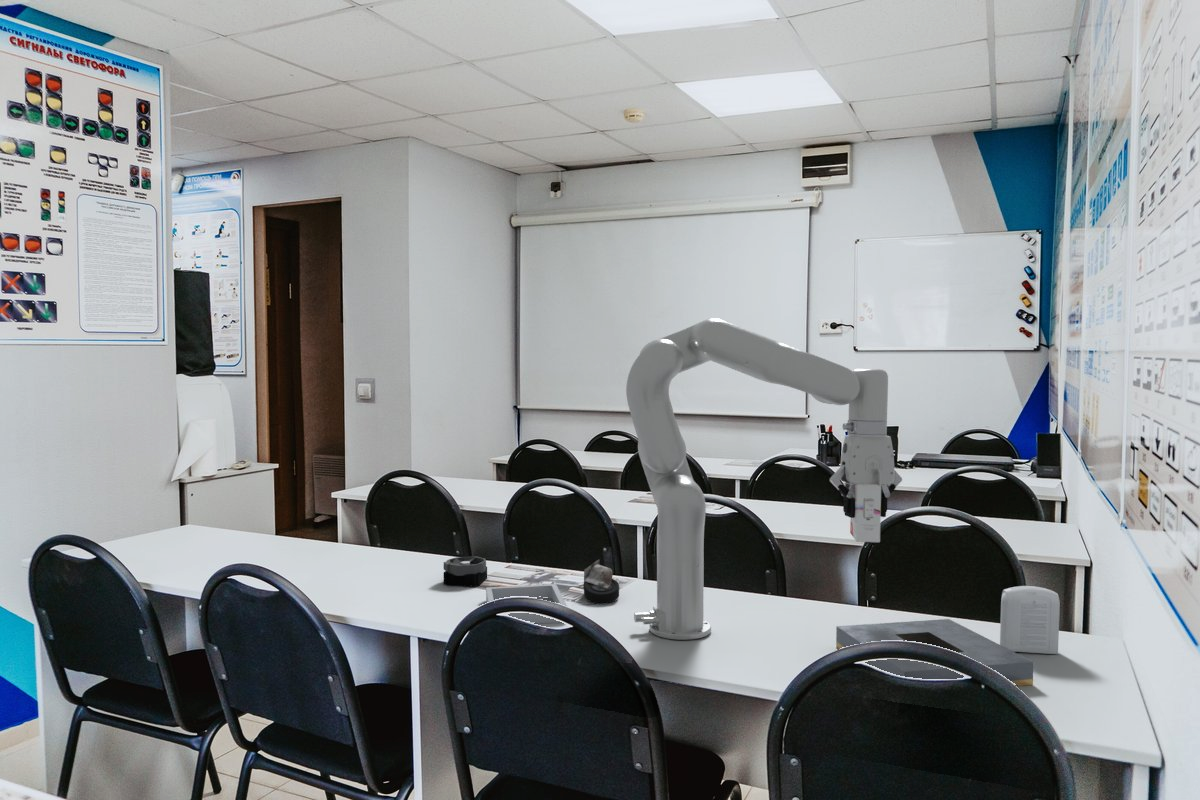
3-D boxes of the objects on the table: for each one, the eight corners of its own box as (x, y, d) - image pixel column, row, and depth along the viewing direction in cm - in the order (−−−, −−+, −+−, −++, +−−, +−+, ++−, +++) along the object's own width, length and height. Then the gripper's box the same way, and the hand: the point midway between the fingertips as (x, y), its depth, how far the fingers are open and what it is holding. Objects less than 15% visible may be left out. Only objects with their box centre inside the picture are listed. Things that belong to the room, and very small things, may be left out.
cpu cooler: (490, 556, 212) (479, 565, 202) (491, 577, 212) (479, 588, 202) (452, 554, 213) (439, 564, 203) (452, 576, 214) (439, 587, 204)
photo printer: (1053, 648, 158) (1054, 584, 158) (1062, 656, 154) (1063, 590, 153) (996, 645, 160) (997, 582, 159) (1003, 653, 155) (1005, 588, 155)
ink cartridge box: (848, 533, 174) (850, 464, 173) (873, 534, 173) (875, 464, 172) (855, 541, 165) (857, 469, 165) (880, 543, 165) (882, 469, 164)
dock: (903, 695, 136) (904, 671, 135) (836, 646, 159) (836, 626, 159) (1032, 684, 140) (1033, 661, 140) (948, 638, 164) (948, 618, 163)
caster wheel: (606, 616, 188) (570, 602, 193) (632, 594, 197) (597, 582, 202) (607, 590, 186) (570, 577, 191) (632, 569, 195) (597, 558, 200)
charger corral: (490, 626, 172) (490, 612, 172) (486, 600, 191) (486, 587, 191) (568, 621, 175) (567, 607, 175) (556, 596, 194) (556, 584, 194)
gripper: (836, 430, 163) (834, 520, 164) (916, 430, 166) (913, 518, 167) (819, 427, 170) (817, 513, 171) (896, 427, 174) (893, 512, 174)
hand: (865, 515), depth 169 cm, fingers closed on ink cartridge box, 6 cm apart
